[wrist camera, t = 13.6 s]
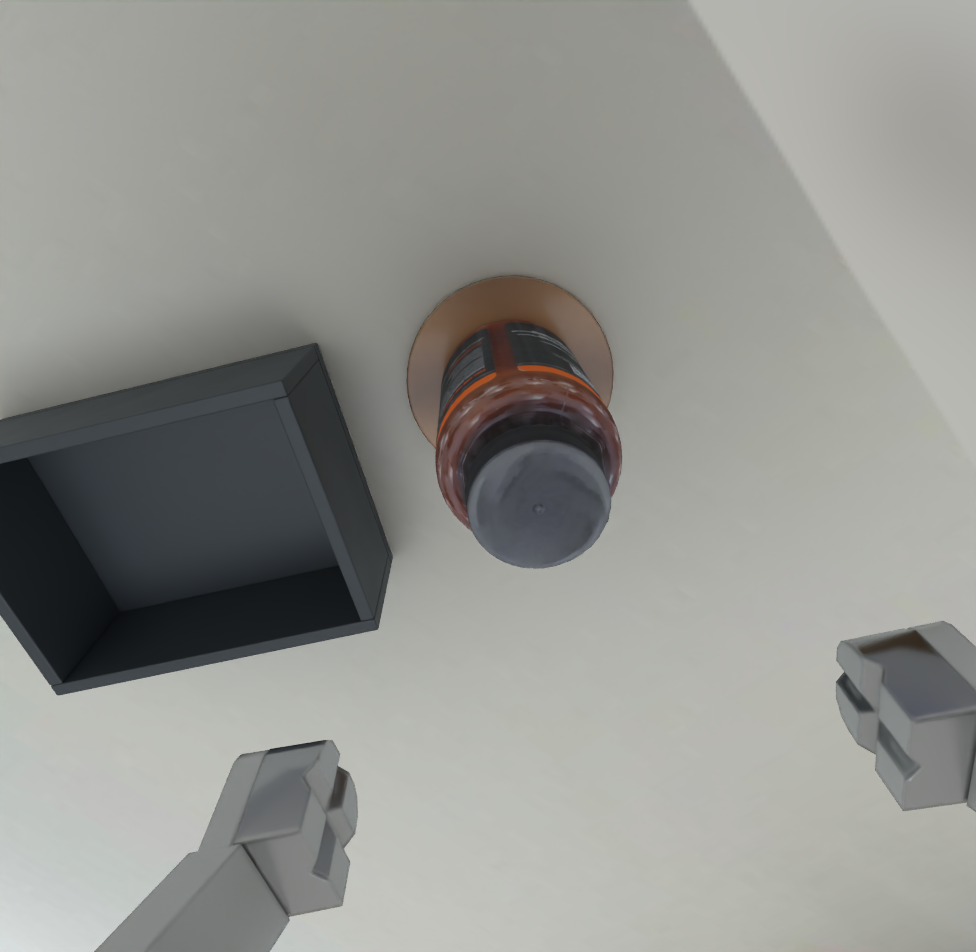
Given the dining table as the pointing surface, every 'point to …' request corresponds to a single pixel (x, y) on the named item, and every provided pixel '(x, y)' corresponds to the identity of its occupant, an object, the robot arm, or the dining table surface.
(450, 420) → the supplement bottle
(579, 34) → the dining table surface
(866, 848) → the dining table surface
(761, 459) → the dining table surface
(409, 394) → the coaster
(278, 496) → the bin
